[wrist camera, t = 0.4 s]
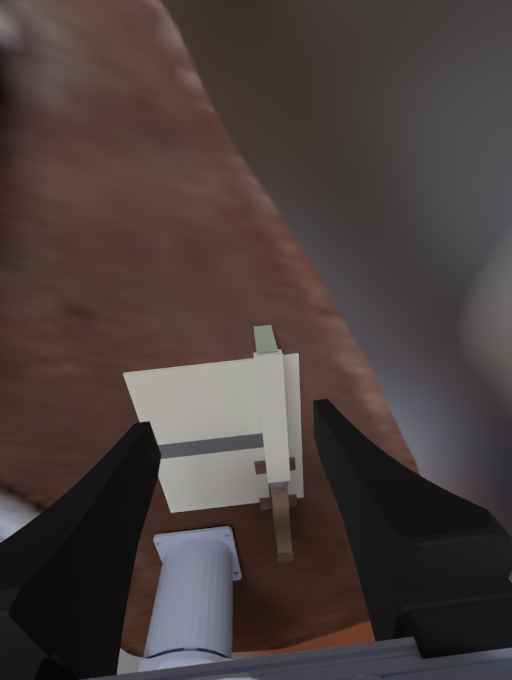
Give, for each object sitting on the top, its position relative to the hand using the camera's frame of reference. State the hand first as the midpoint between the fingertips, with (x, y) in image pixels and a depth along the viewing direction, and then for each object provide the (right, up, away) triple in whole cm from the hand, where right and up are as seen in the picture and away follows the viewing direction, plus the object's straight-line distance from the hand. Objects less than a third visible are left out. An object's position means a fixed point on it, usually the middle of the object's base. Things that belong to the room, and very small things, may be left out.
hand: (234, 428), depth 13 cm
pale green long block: (+2, 0, +10) cm, 10 cm away
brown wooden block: (+3, -10, +15) cm, 18 cm away
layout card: (-2, -5, +12) cm, 13 cm away
